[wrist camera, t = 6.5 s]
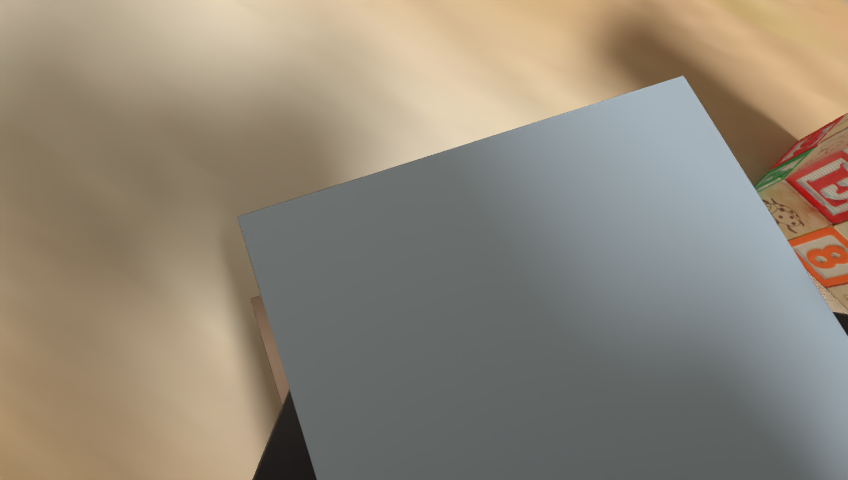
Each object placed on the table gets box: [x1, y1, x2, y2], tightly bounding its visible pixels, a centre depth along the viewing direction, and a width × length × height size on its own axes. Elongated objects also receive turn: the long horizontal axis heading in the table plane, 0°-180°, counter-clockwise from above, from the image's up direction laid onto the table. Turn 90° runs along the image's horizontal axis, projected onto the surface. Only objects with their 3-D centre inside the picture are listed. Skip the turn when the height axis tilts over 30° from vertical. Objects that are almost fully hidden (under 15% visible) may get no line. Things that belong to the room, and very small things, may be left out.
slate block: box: [237, 76, 848, 480], centre depth 9 cm, size 4×4×12 cm
